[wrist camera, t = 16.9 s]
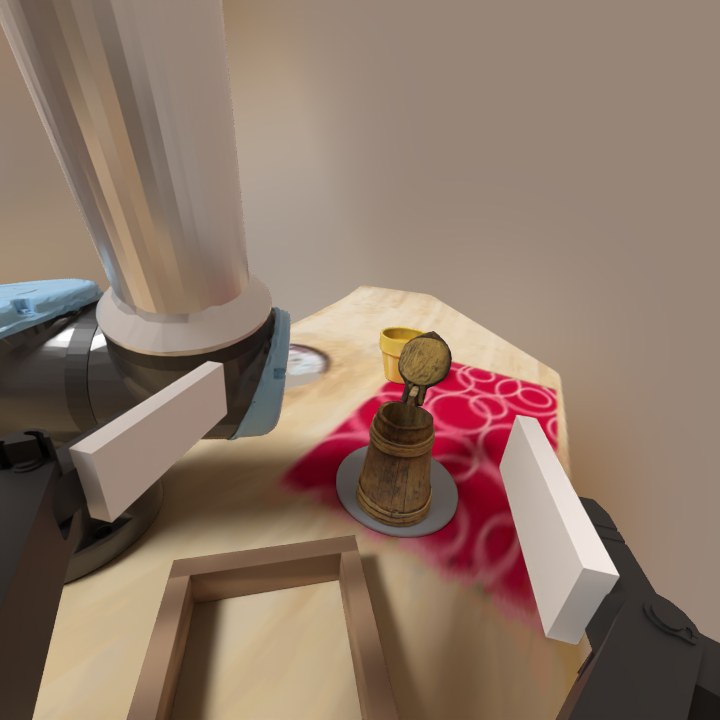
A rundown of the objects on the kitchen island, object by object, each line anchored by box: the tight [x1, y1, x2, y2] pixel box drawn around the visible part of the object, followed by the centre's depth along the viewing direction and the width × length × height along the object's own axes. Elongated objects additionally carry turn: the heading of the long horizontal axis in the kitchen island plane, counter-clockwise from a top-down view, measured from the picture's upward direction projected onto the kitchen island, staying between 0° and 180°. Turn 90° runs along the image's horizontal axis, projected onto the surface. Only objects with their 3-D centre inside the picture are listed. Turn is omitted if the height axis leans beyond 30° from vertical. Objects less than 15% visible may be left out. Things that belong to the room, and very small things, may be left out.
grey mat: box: [336, 446, 458, 538], centre depth 41 cm, size 15×15×1 cm
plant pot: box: [379, 327, 426, 384], centre depth 69 cm, size 10×10×10 cm
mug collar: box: [127, 535, 399, 720], centre depth 20 cm, size 20×15×4 cm
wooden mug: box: [356, 331, 452, 527], centre depth 38 cm, size 9×14×18 cm, turn 157°
